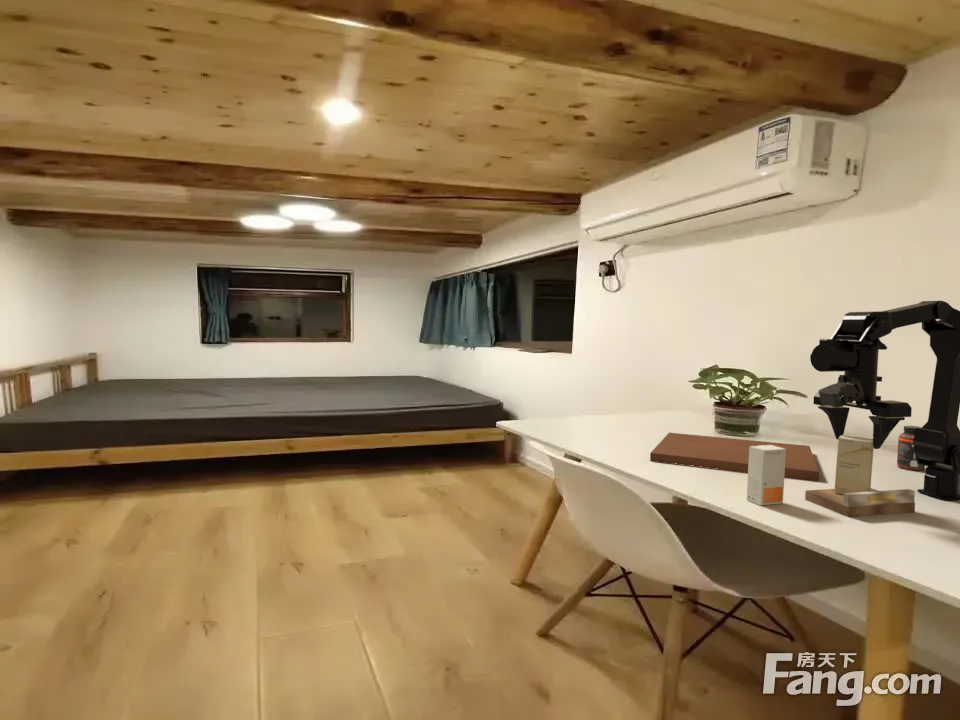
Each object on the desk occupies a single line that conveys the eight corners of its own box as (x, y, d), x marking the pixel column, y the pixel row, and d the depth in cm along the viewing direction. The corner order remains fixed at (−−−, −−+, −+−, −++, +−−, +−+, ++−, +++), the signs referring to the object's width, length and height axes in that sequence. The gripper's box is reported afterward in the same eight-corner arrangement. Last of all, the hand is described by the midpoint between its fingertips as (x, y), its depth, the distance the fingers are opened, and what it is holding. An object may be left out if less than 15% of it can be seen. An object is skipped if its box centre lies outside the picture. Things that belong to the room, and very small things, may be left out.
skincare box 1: (761, 506, 114) (763, 450, 113) (745, 500, 118) (748, 445, 117) (784, 504, 116) (786, 448, 115) (768, 497, 120) (770, 444, 119)
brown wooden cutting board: (818, 484, 133) (809, 455, 162) (819, 471, 133) (809, 445, 162) (650, 463, 152) (668, 441, 181) (650, 452, 151) (668, 432, 180)
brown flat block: (866, 495, 122) (867, 476, 122) (915, 512, 111) (916, 491, 111) (805, 499, 119) (806, 479, 119) (848, 517, 108) (849, 495, 108)
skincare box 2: (833, 493, 117) (836, 437, 116) (836, 488, 120) (839, 434, 119) (869, 499, 113) (873, 441, 112) (871, 494, 116) (874, 438, 115)
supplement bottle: (921, 472, 142) (924, 429, 141) (893, 467, 146) (896, 426, 146) (927, 468, 146) (930, 427, 145) (900, 464, 150) (902, 423, 149)
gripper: (794, 367, 122) (791, 436, 123) (868, 375, 104) (863, 456, 105) (836, 367, 125) (833, 434, 126) (915, 375, 106) (911, 453, 107)
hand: (856, 443), depth 116 cm, fingers open, 9 cm apart
